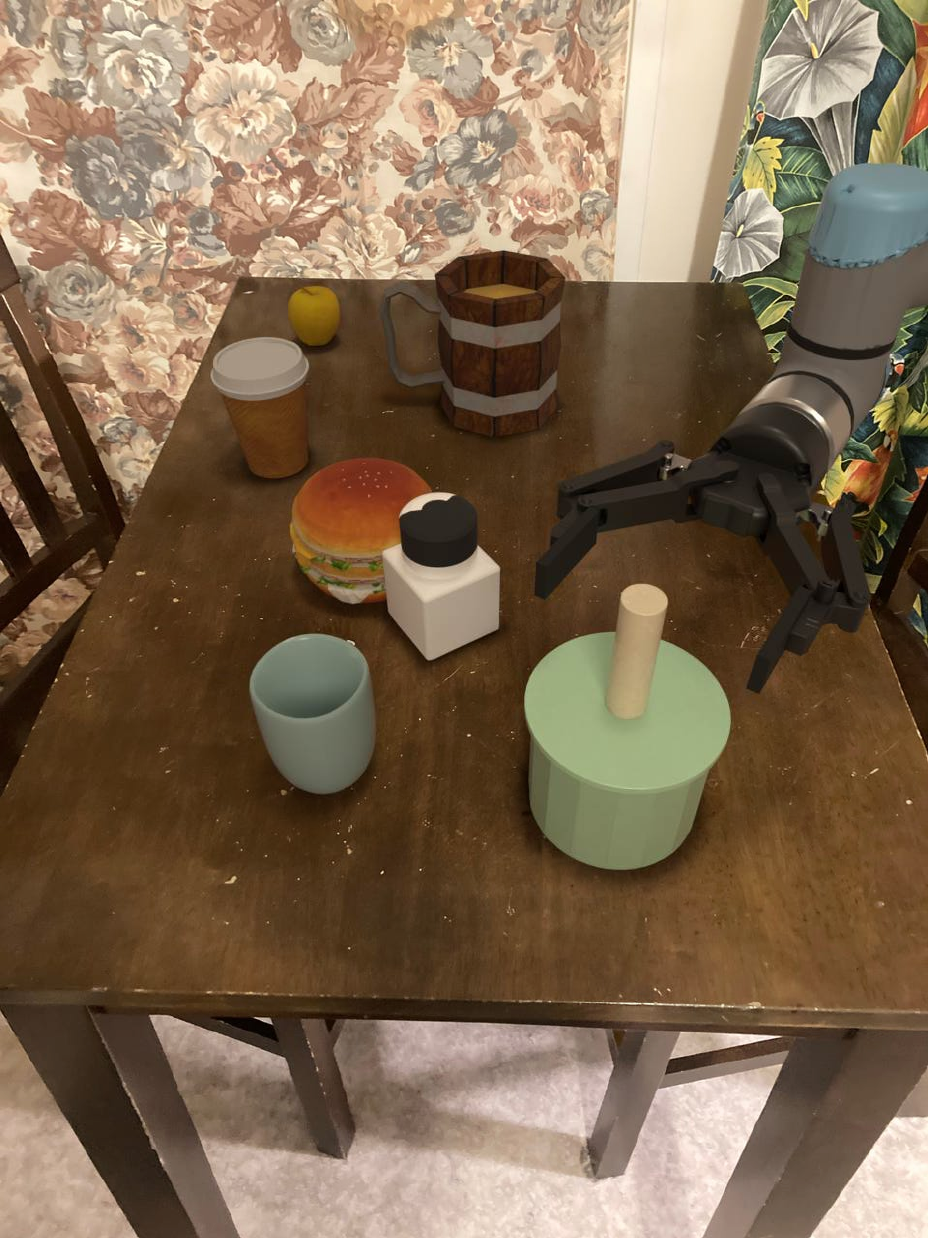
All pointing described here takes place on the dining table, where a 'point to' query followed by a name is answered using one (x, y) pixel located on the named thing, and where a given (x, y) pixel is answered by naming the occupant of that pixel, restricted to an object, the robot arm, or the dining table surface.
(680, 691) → the tin lid
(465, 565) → the medicine bottle
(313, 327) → the apple
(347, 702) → the cup
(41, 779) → the dining table surface
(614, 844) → the tin
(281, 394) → the disposable coffee cup
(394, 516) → the burger
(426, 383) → the mug
